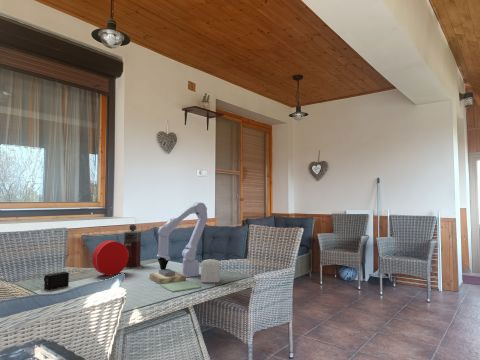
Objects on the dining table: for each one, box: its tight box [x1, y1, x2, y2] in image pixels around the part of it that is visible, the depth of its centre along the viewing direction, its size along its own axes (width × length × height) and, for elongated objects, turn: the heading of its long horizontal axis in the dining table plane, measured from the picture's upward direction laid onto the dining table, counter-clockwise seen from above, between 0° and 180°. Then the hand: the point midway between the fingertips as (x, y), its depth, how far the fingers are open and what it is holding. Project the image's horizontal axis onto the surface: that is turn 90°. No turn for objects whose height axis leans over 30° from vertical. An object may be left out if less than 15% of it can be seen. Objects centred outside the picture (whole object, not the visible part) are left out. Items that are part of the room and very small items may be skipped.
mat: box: [159, 279, 202, 293], centre depth 179 cm, size 16×16×1 cm
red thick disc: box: [91, 240, 129, 276], centre depth 207 cm, size 20×6×20 cm, turn 136°
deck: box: [148, 270, 187, 286], centre depth 193 cm, size 15×16×3 cm
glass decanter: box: [123, 223, 142, 268], centre depth 233 cm, size 9×11×28 cm
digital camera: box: [43, 271, 70, 291], centre depth 177 cm, size 10×5×7 cm, turn 147°
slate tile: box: [158, 268, 176, 276], centre depth 194 cm, size 6×9×2 cm, turn 35°
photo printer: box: [200, 258, 221, 283], centre depth 189 cm, size 10×4×12 cm, turn 94°
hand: (163, 271), depth 199 cm, fingers closed
